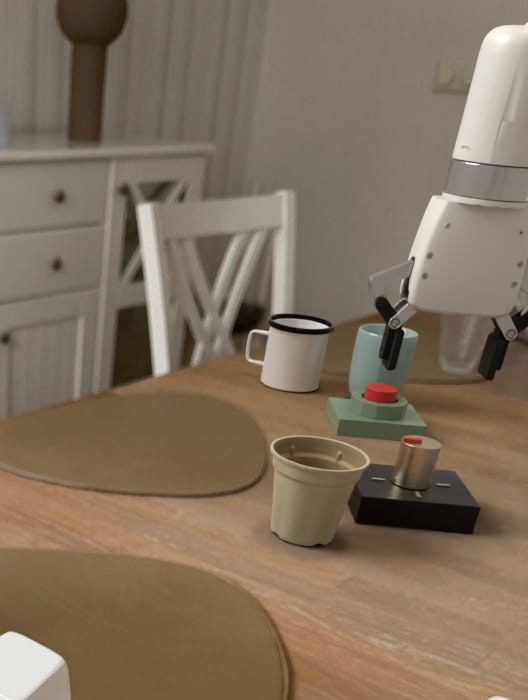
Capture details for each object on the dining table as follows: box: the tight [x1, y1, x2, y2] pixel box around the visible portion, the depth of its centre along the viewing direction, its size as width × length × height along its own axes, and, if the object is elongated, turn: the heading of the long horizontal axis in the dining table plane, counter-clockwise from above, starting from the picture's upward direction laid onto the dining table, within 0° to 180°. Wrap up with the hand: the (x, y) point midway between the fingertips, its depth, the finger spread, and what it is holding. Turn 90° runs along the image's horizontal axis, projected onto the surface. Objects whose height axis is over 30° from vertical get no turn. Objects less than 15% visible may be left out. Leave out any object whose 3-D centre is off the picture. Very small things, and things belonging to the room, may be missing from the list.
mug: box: [245, 312, 336, 394], centre depth 140 cm, size 12×10×9 cm
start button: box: [363, 383, 398, 404], centre depth 126 cm, size 4×4×2 cm
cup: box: [348, 323, 420, 396], centre depth 135 cm, size 8×8×10 cm
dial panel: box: [347, 462, 482, 535], centre depth 104 cm, size 12×10×3 cm
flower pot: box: [269, 434, 371, 547], centre depth 96 cm, size 9×9×9 cm
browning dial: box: [391, 435, 442, 490], centre depth 102 cm, size 4×4×5 cm
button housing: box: [324, 390, 428, 442], centre depth 127 cm, size 11×9×4 cm
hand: (436, 371), depth 98 cm, fingers open, 9 cm apart
